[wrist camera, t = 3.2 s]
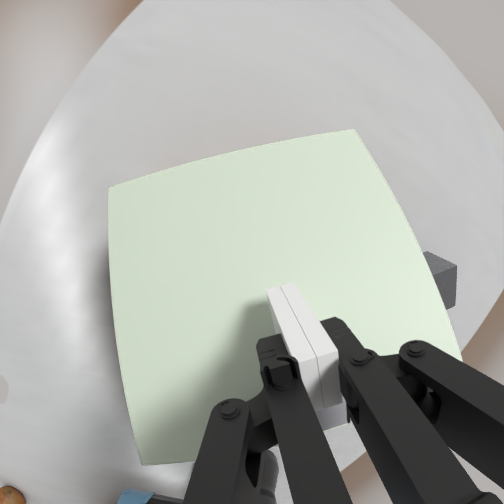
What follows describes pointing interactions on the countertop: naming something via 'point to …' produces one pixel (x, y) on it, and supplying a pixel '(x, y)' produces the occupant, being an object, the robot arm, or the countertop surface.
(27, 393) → the countertop surface
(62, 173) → the countertop surface
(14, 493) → the onion
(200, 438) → the lid
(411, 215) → the countertop surface
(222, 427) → the robot arm
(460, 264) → the countertop surface
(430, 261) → the block
